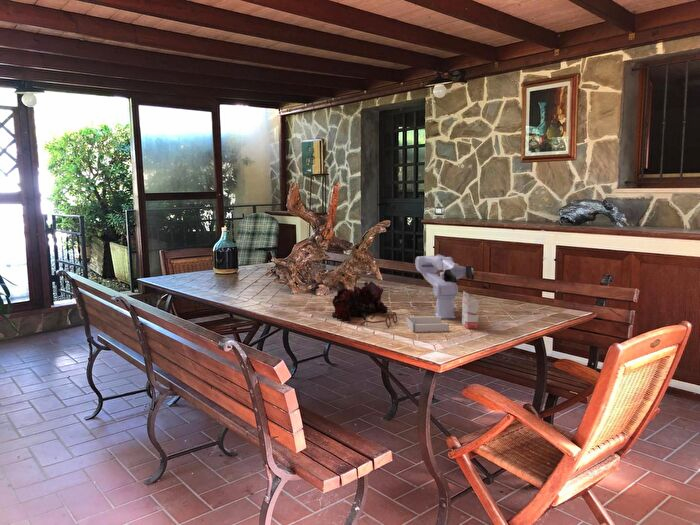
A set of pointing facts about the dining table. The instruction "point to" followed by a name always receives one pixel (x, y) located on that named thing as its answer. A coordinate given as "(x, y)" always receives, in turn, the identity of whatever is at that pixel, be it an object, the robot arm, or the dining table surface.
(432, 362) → the dining table surface
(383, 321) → the glasses
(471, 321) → the ink cartridge box
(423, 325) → the sorting bay
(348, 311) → the flower arrangement
